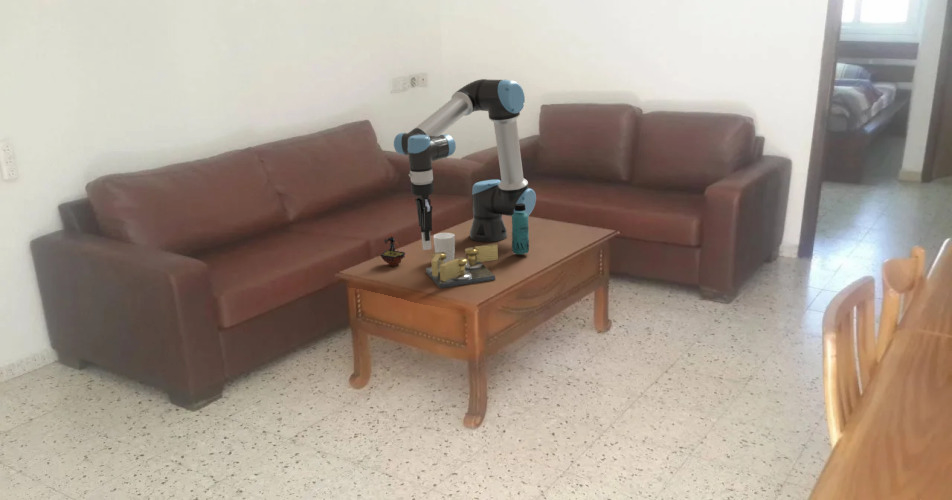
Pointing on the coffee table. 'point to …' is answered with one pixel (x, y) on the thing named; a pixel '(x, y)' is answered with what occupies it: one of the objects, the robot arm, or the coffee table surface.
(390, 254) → the figurine
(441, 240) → the white cup
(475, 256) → the foot screw
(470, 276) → the plate
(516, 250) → the beverage bottle
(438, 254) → the foot screw
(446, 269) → the foot screw
